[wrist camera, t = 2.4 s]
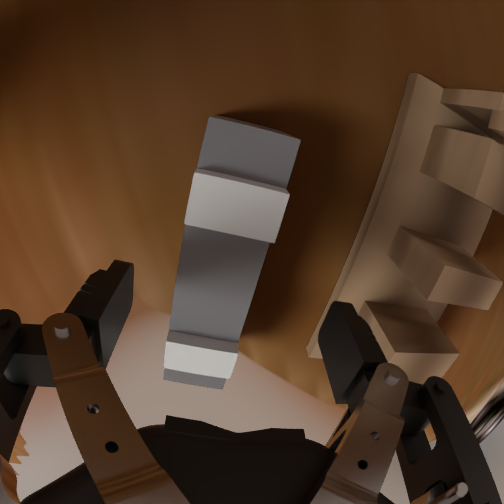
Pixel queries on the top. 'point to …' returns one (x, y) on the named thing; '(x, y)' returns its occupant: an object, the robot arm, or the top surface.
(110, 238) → the top surface
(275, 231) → the frame bar
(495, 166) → the display stand
